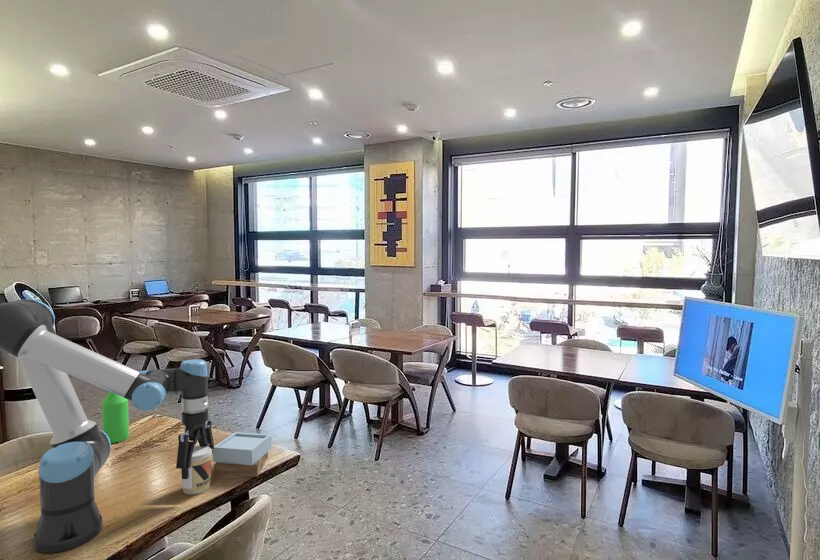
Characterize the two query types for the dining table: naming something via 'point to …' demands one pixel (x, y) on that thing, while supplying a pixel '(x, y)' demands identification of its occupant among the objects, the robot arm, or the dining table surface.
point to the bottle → (115, 417)
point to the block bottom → (239, 469)
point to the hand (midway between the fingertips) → (196, 480)
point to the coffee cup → (200, 470)
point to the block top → (242, 448)
